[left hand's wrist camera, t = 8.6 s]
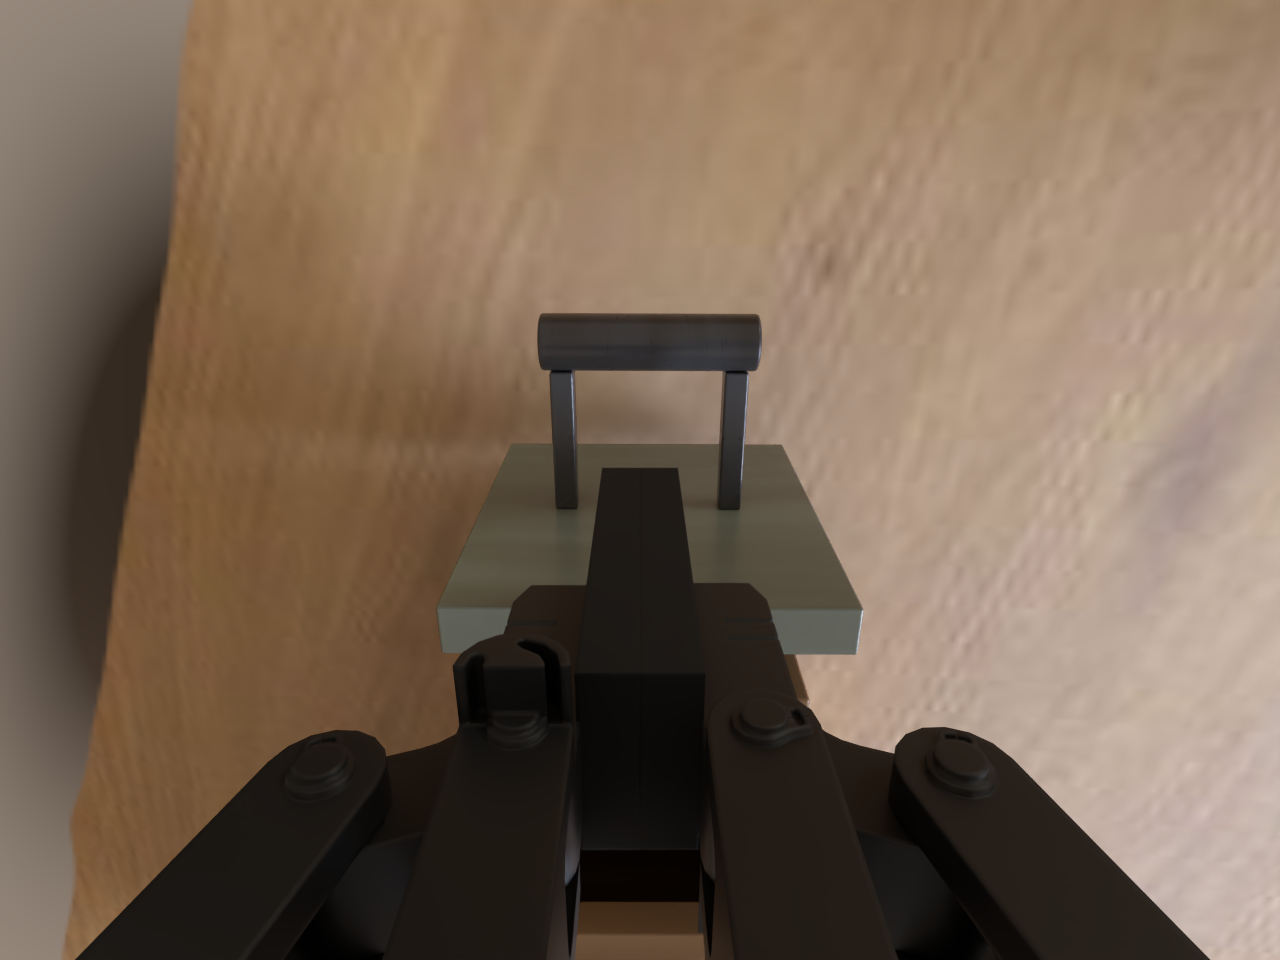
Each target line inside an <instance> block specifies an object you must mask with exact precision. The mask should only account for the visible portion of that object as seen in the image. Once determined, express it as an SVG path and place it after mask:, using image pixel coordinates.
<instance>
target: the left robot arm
mask: <svg viewBox="0 0 1280 960" xmlns="http://www.w3.org/2000/svg"><path fill="white" fill-rule="evenodd" d="M453 673H454V682H455V690H456V699H457V708H458V716H459V728H458V731H457V733H456V734H455V735H453V736H451V737H449V738H447V739H445V740H443V741H441V742H439V743H437V744H433V745H430V746H427V747H424V748H421V749H416V750H412V751H408V752H404V753H400V754H395V755H391V756H387V757H386V753H385V749H384V748H383V747H382V745H381V744H380V743H379V742H378V741H377V739H376V738H375V737H372V736H370V735H367V734H365V733H362V732H359V731H346V730H334V731H330V732H325V733H321V734H316V735H312V736H309V737H307V738H305V739H303V740H301V741H299V742H296V743H294V744H292V745H290V746H288V747H287V748H285V749H284V750H283V751H282V752H280V753H279V754H278V755H276V756H275V757H274V758H273V759H271V760H270V761H269V762H268V763H267V764H266V765H265V766H264V767H263V768H262V769H261V770H260V771H259V772H258V773H257V774H256V775H255V776H254V777H253V778H252V779H251V780H250V781H249V782H248V783H247V784H246V785H245V786H244V787H243V788H242V789H241V790H240V791H239V792H238V793H237V794H236V795H235V796H234V797H233V799H232V800H231V801H230V802H229V803H228V804H227V805H226V806H225V807H224V808H223V809H222V810H221V811H220V812H219V813H218V814H217V815H216V816H215V817H214V818H213V819H212V820H211V821H210V822H209V823H208V824H207V825H206V826H205V827H204V828H203V829H202V830H201V831H200V832H199V833H198V834H197V835H196V836H195V837H194V838H193V839H192V841H191V842H190V843H189V844H188V845H187V846H186V847H185V848H184V849H183V850H182V851H181V852H180V853H179V854H178V855H177V856H176V857H175V858H174V859H173V860H172V861H171V862H170V863H169V864H168V865H167V866H166V867H165V868H164V869H163V870H162V871H161V872H160V873H159V874H158V875H157V876H156V877H155V878H154V879H153V880H152V881H151V883H150V884H149V885H148V886H147V887H146V888H145V889H144V890H143V891H142V892H141V893H140V894H139V895H138V896H137V897H136V898H135V899H134V900H133V901H132V902H131V903H130V904H129V905H128V906H127V907H126V908H125V909H124V910H123V911H122V912H121V913H120V914H119V915H118V916H117V917H116V918H115V919H114V920H113V921H112V922H111V923H110V925H109V926H108V927H107V928H106V929H105V930H104V931H103V932H102V933H101V934H100V935H99V936H98V937H97V938H96V939H95V940H94V941H93V942H92V943H91V944H90V945H89V946H88V947H87V948H86V949H85V950H84V951H83V952H82V953H81V954H80V955H79V956H78V957H77V958H76V959H75V960H575V951H576V939H577V927H578V914H579V902H580V890H581V888H580V864H579V856H580V845H581V850H699V842H700V853H701V864H700V888H699V912H698V933H703V938H704V950H705V960H1210V959H1209V958H1208V957H1207V956H1206V955H1205V954H1204V953H1203V952H1202V951H1201V950H1200V949H1199V948H1198V947H1197V946H1196V945H1195V944H1194V943H1193V942H1192V941H1191V940H1190V939H1189V938H1188V937H1187V936H1186V935H1185V934H1184V933H1183V932H1182V931H1181V930H1180V929H1179V928H1178V927H1177V926H1176V925H1175V923H1174V922H1173V921H1172V920H1171V919H1170V918H1169V917H1168V916H1167V915H1166V914H1165V913H1164V912H1163V911H1162V910H1161V909H1160V908H1159V907H1158V906H1157V905H1156V904H1155V903H1154V902H1153V901H1152V900H1151V899H1150V898H1149V897H1148V896H1147V895H1146V894H1145V893H1144V892H1143V891H1142V890H1141V889H1140V888H1139V887H1138V886H1137V885H1136V884H1135V883H1134V882H1133V881H1132V880H1131V879H1130V878H1129V877H1128V876H1127V875H1126V874H1125V873H1124V872H1123V871H1122V870H1121V869H1120V868H1119V867H1118V866H1117V864H1116V863H1115V862H1114V861H1113V860H1112V859H1111V858H1110V857H1109V856H1108V855H1107V854H1106V853H1105V852H1104V851H1103V850H1102V849H1101V848H1100V847H1099V846H1098V845H1097V844H1096V843H1095V842H1094V841H1093V840H1092V839H1091V838H1090V837H1089V836H1088V835H1087V834H1086V833H1085V832H1084V831H1083V830H1082V829H1081V828H1080V827H1079V826H1078V825H1077V824H1076V823H1075V822H1074V821H1073V820H1072V819H1071V818H1070V817H1069V816H1068V815H1067V814H1066V813H1065V812H1064V811H1063V810H1062V809H1061V808H1060V807H1059V805H1058V804H1057V803H1056V802H1055V801H1054V800H1053V799H1052V798H1051V797H1050V796H1049V795H1048V794H1047V793H1046V792H1045V791H1044V790H1043V789H1042V788H1041V787H1040V786H1039V785H1038V784H1037V783H1036V782H1035V781H1034V780H1033V779H1032V778H1031V777H1030V776H1029V775H1028V774H1027V773H1026V772H1025V771H1024V770H1023V769H1022V768H1021V767H1020V766H1019V765H1018V764H1017V763H1016V762H1015V761H1014V760H1013V759H1012V758H1011V757H1010V756H1008V755H1007V754H1006V753H1005V752H1003V751H1002V750H1001V749H999V748H998V747H997V746H996V745H994V744H993V743H991V742H989V741H987V740H984V739H982V738H980V737H978V736H976V735H974V734H971V733H969V732H965V731H960V730H956V729H951V728H947V727H932V728H921V729H918V730H916V731H913V732H910V733H908V734H905V736H904V737H903V738H902V739H901V740H900V742H899V743H898V744H897V745H896V747H895V753H894V754H893V753H889V752H885V751H880V750H876V749H872V748H868V747H863V746H859V745H856V744H853V743H850V742H847V741H843V740H841V739H839V738H837V737H835V736H833V735H831V734H829V733H827V732H825V731H824V730H822V727H821V724H820V723H819V721H818V720H817V718H816V716H815V715H814V713H813V712H812V710H811V709H810V708H808V707H807V706H806V705H804V704H803V703H802V702H800V701H799V700H798V699H797V696H796V693H795V689H794V686H793V683H792V680H791V676H790V673H789V670H788V666H787V663H786V660H785V657H784V653H783V650H782V647H781V644H780V640H778V634H777V631H776V627H775V624H774V623H773V618H772V614H771V611H770V608H769V605H768V601H767V599H766V598H765V597H764V596H762V595H761V594H760V593H759V592H758V591H757V590H756V589H755V588H754V587H753V586H752V585H751V584H750V583H693V576H692V568H691V561H690V554H689V546H688V539H687V531H686V524H685V516H684V509H683V502H682V494H681V487H680V479H679V472H678V468H602V472H601V479H600V487H599V494H598V502H597V509H596V516H595V524H594V531H593V539H592V546H591V554H590V561H589V568H588V576H587V583H586V585H531V586H530V587H529V588H528V589H526V590H525V591H524V592H523V593H522V594H521V595H520V596H519V597H518V598H517V599H516V600H515V601H514V602H513V604H512V607H511V611H510V614H509V617H508V621H507V626H506V627H505V630H504V634H501V635H497V636H494V637H491V638H488V639H485V640H482V641H479V642H477V643H476V644H474V645H473V646H471V647H470V648H468V649H467V650H465V651H464V652H462V654H461V655H460V656H459V658H458V659H457V661H456V662H455V663H454V665H453Z"/></svg>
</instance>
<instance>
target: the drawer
mask: <svg viewBox="0 0 1280 960" xmlns="http://www.w3.org/2000/svg"><path fill="white" fill-rule="evenodd" d="M537 341H538V357H539V363H540V366H541V369H542V370H551V372H550V374H549V377H550V399H551V420H552V441H553V444H511V446H510V448H509V450H508V452H507V455H506V457H505V459H504V461H503V463H502V466H501V468H500V470H499V472H498V474H497V476H496V479H495V481H494V483H493V485H492V487H491V489H490V492H489V494H488V496H487V498H486V500H485V502H484V505H483V507H482V509H481V511H480V513H479V516H478V518H477V520H476V522H475V524H474V526H473V529H472V531H471V533H470V535H469V537H468V539H467V542H466V544H465V546H464V548H463V550H462V553H461V555H460V557H459V559H458V561H457V563H456V566H455V568H454V570H453V572H452V574H451V576H450V579H449V581H448V583H447V585H446V587H445V590H444V592H443V594H442V596H441V598H440V600H439V603H438V605H437V607H436V612H437V620H438V627H439V635H440V643H441V650H442V652H443V653H462V652H464V651H465V650H467V649H468V648H470V647H471V646H473V645H474V644H476V643H477V642H479V641H482V640H485V639H488V638H491V637H494V636H497V635H501V634H504V630H505V627H506V626H507V621H508V617H509V614H510V611H511V607H512V604H513V602H514V601H515V600H516V599H517V598H518V597H519V596H520V595H521V594H522V593H523V592H524V591H525V590H526V589H528V588H529V587H530V586H531V585H586V583H587V576H588V568H589V561H590V554H591V546H592V539H593V531H594V524H595V516H596V509H597V502H598V494H599V487H600V479H601V472H602V468H678V472H679V479H680V487H681V494H682V502H683V509H684V516H685V524H686V531H687V539H688V546H689V554H690V561H691V568H692V576H693V583H750V584H751V585H752V586H753V587H754V588H755V589H756V590H757V591H758V592H759V593H760V594H761V595H762V596H764V597H765V598H766V599H767V601H768V605H769V608H770V611H771V614H772V618H773V623H774V624H775V627H776V631H777V634H778V640H780V644H781V647H782V650H783V653H784V657H785V660H786V663H787V666H788V670H789V673H790V676H791V680H792V683H793V686H794V689H795V693H796V696H797V699H798V700H799V701H800V702H802V703H803V704H804V705H806V706H807V707H808V708H809V701H810V700H809V697H808V694H807V691H806V687H805V684H804V681H803V678H802V675H801V671H800V668H799V665H798V662H797V659H796V655H795V654H847V655H855V654H857V650H858V644H859V637H860V630H861V623H862V617H863V607H862V605H861V603H860V601H859V599H858V597H857V595H856V593H855V591H854V589H853V587H852V585H851V583H850V581H849V579H848V577H847V575H846V573H845V571H844V569H843V567H842V565H841V563H840V561H839V559H838V557H837V555H836V553H835V551H834V549H833V547H832V545H831V543H830V541H829V539H828V537H827V535H826V533H825V531H824V529H823V527H822V525H821V523H820V521H819V519H818V517H817V515H816V513H815V511H814V509H813V507H812V505H811V503H810V501H809V499H808V497H807V495H806V493H805V491H804V489H803V487H802V485H801V483H800V480H799V478H798V476H797V474H796V472H795V470H794V468H793V466H792V464H791V462H790V460H789V458H788V456H787V454H786V452H785V450H784V448H783V446H782V445H744V443H745V428H746V412H747V397H748V381H749V374H748V372H747V371H755V370H757V368H758V366H759V362H760V357H761V346H762V330H761V321H760V318H759V315H757V314H614V313H542V314H541V315H540V317H539V321H538V334H537ZM575 370H579V371H723V380H722V400H721V420H720V440H719V444H577V422H576V392H575ZM579 864H580V888H581V890H580V902H699V888H700V864H701V853H700V842H699V850H581V845H580V856H579Z"/></svg>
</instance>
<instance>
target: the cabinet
mask: <svg viewBox="0 0 1280 960" xmlns="http://www.w3.org/2000/svg"><path fill="white" fill-rule="evenodd" d="M698 912H699V902H579V914H578V927H577V939H576V951H575V960H705V950H704V938H703V933H698Z"/></svg>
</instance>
